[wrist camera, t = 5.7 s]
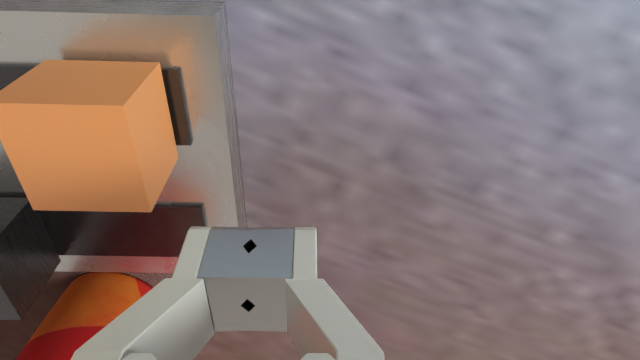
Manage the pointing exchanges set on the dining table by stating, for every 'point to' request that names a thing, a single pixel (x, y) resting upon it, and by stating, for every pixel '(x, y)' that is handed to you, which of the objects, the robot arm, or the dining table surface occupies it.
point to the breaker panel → (188, 126)
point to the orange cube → (89, 135)
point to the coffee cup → (82, 314)
